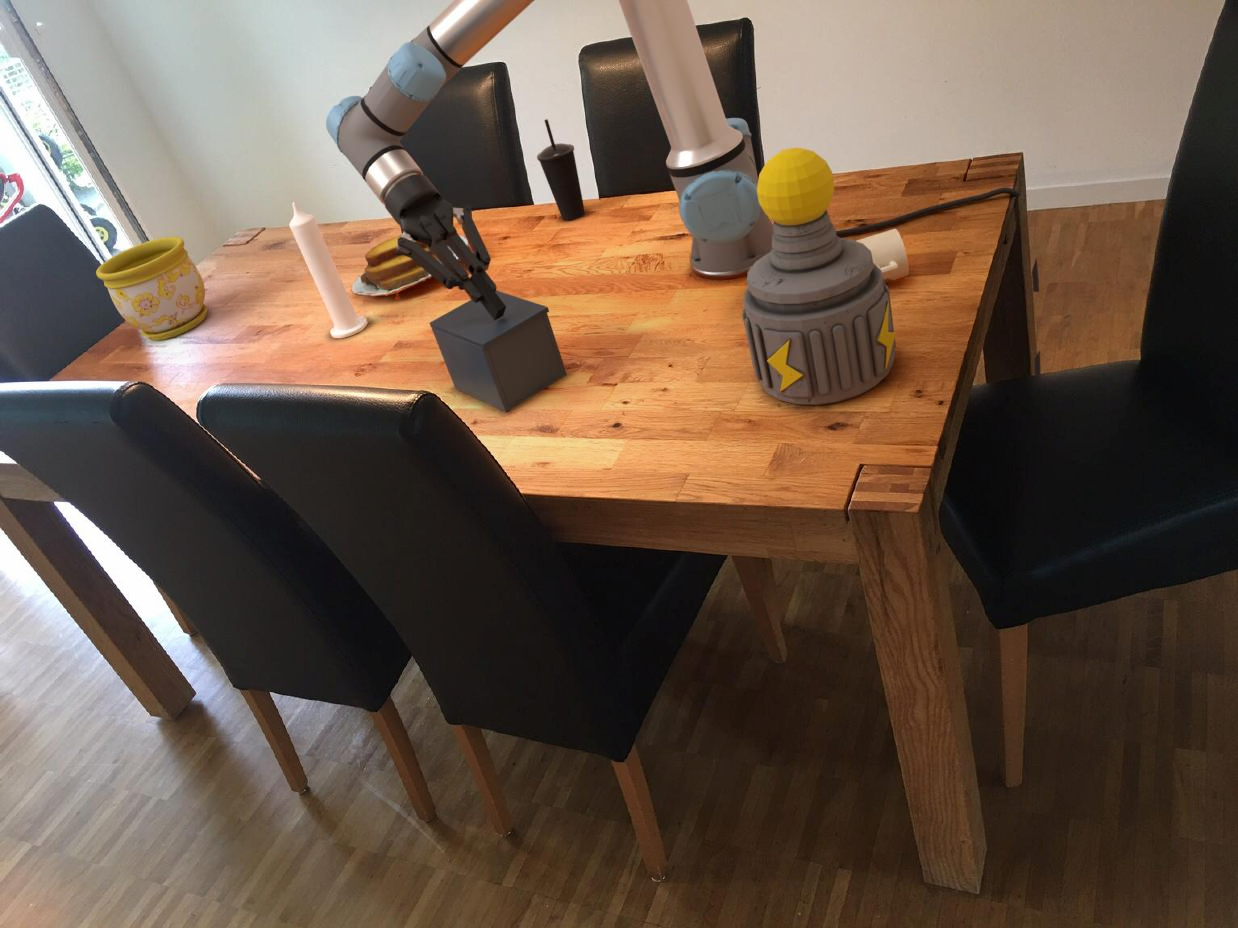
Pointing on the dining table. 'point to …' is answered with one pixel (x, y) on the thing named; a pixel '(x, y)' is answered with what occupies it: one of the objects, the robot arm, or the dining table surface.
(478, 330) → the lid
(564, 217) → the drinking cup
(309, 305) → the dining table surface
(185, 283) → the flowerpot
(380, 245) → the food on plate
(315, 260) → the candle
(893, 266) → the character mug
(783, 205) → the decorative lamp
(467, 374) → the box
